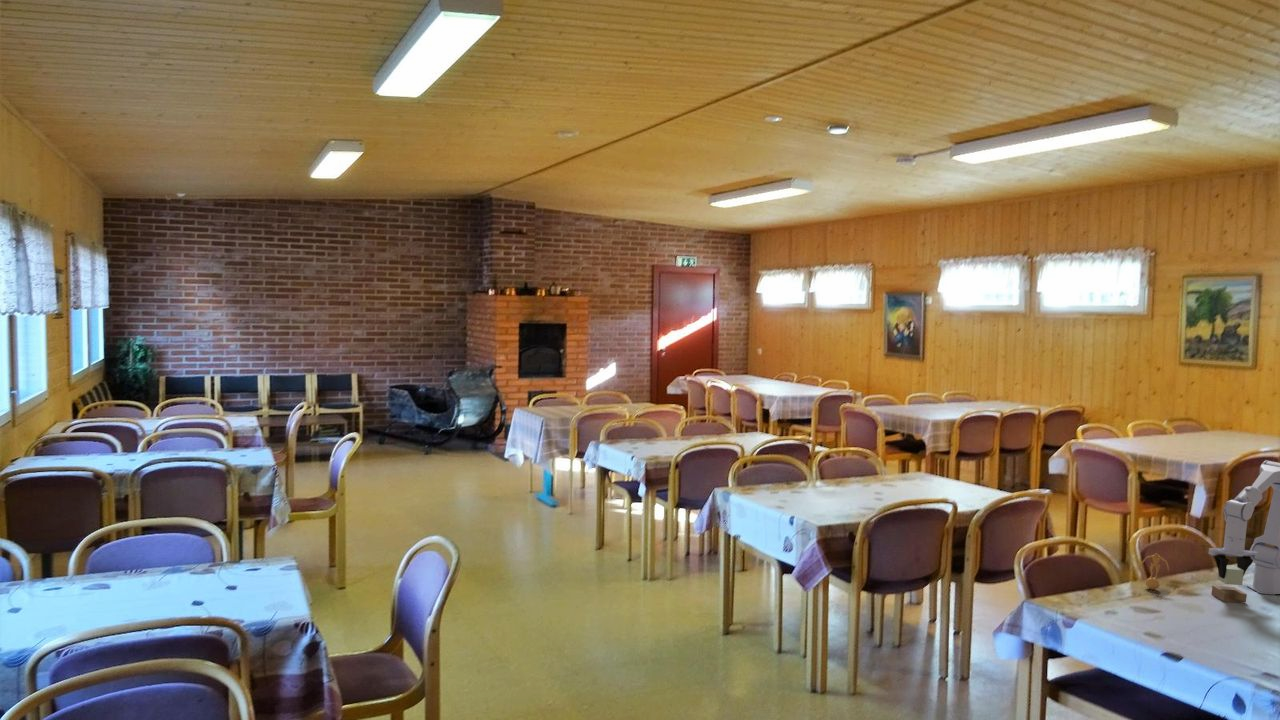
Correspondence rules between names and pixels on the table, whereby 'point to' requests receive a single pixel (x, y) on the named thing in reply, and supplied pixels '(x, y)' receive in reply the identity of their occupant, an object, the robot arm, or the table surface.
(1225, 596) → the walnut block
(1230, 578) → the sage cube
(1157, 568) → the figurine
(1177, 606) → the table surface
